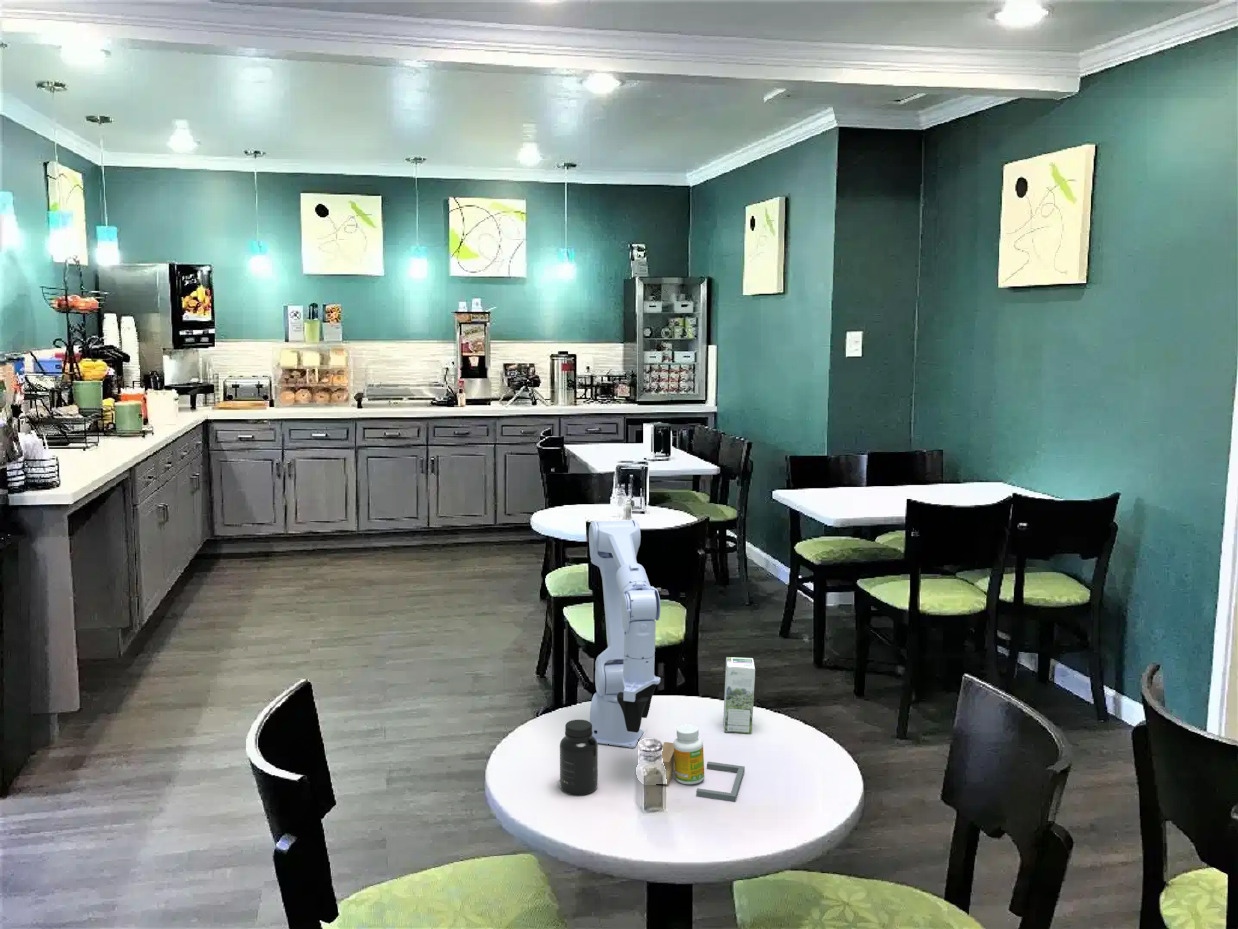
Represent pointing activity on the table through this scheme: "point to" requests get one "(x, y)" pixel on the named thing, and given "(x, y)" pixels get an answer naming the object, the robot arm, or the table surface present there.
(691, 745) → the supplement bottle
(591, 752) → the supplement bottle
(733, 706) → the syrup box
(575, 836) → the table surface
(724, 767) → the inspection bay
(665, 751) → the bar
